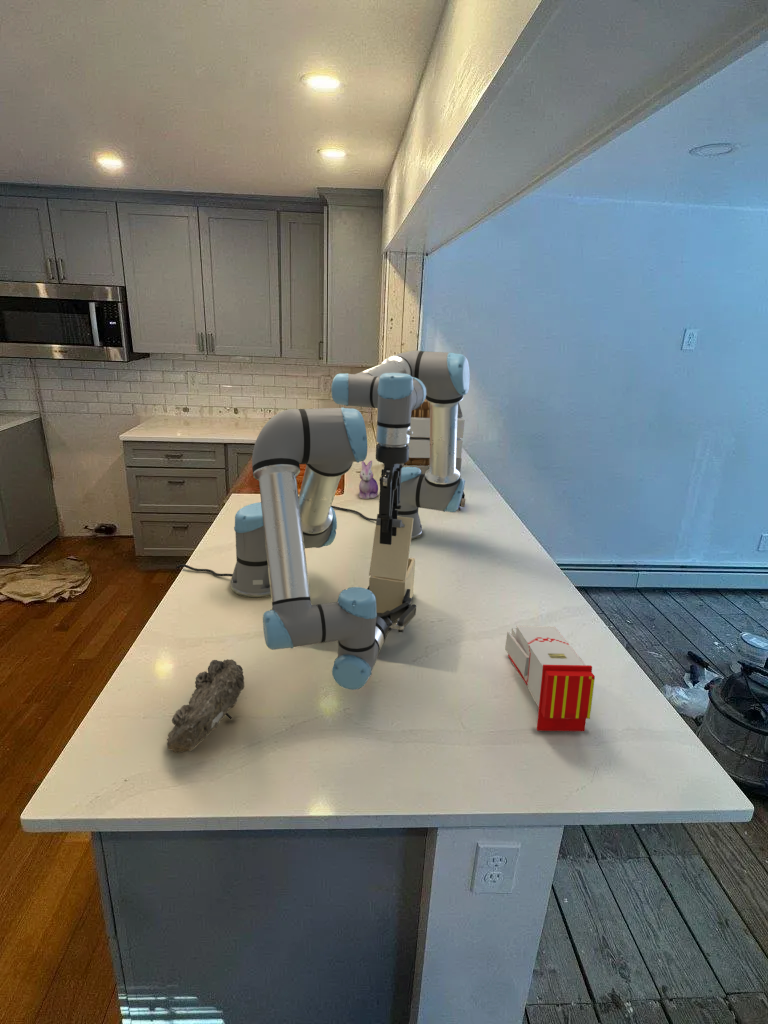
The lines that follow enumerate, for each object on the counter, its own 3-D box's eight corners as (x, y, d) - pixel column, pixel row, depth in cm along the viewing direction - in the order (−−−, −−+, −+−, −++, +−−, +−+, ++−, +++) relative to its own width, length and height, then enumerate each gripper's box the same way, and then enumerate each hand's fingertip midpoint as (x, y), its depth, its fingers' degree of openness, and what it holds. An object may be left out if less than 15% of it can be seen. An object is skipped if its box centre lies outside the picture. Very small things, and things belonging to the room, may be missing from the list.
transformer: (382, 463, 289) (386, 382, 275) (445, 464, 293) (451, 384, 279) (390, 482, 257) (394, 392, 243) (460, 483, 261) (468, 394, 247)
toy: (551, 610, 133) (604, 672, 104) (546, 663, 136) (596, 738, 106) (500, 609, 132) (538, 671, 103) (496, 662, 135) (532, 737, 106)
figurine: (363, 500, 232) (364, 465, 227) (352, 493, 240) (353, 459, 235) (383, 498, 236) (385, 463, 231) (372, 491, 244) (373, 457, 239)
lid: (378, 514, 143) (370, 510, 134) (413, 518, 142) (408, 515, 133) (369, 575, 142) (361, 575, 133) (405, 580, 140) (399, 581, 131)
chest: (381, 590, 159) (382, 554, 155) (413, 594, 157) (415, 558, 153) (368, 616, 146) (369, 577, 142) (402, 621, 144) (405, 582, 140)
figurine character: (465, 515, 224) (460, 499, 237) (467, 498, 221) (462, 483, 234) (448, 515, 224) (444, 499, 237) (450, 498, 220) (445, 482, 234)
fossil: (192, 660, 117) (244, 628, 112) (224, 691, 120) (276, 661, 115) (142, 746, 98) (202, 712, 93) (182, 779, 101) (242, 748, 96)
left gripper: (321, 643, 129) (348, 597, 150) (415, 659, 125) (430, 610, 145) (321, 614, 127) (349, 572, 147) (417, 629, 122) (432, 583, 143)
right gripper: (401, 454, 119) (395, 556, 127) (416, 437, 135) (410, 528, 143) (366, 451, 120) (363, 551, 128) (385, 434, 137) (381, 524, 145)
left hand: (389, 591), depth 146 cm, fingers closed on chest, 9 cm apart
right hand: (388, 539), depth 136 cm, fingers open, 5 cm apart
